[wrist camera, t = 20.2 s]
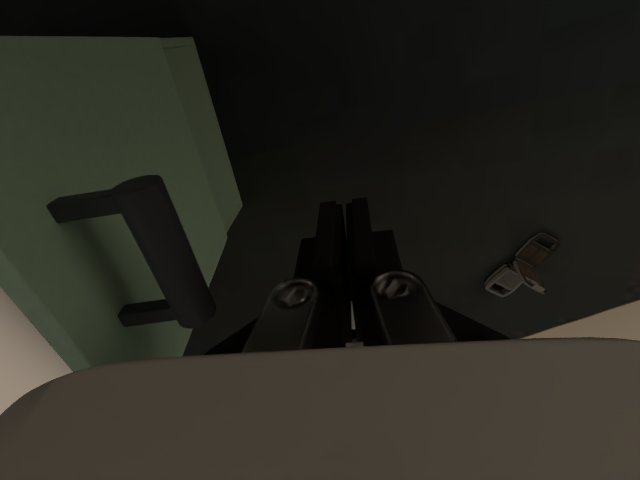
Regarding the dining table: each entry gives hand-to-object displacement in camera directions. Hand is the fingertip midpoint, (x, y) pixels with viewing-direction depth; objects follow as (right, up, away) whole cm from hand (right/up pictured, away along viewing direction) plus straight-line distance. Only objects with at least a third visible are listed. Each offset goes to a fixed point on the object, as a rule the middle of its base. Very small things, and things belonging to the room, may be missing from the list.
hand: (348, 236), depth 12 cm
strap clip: (+21, -3, +24) cm, 32 cm away
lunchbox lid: (-11, +2, +6) cm, 12 cm away
